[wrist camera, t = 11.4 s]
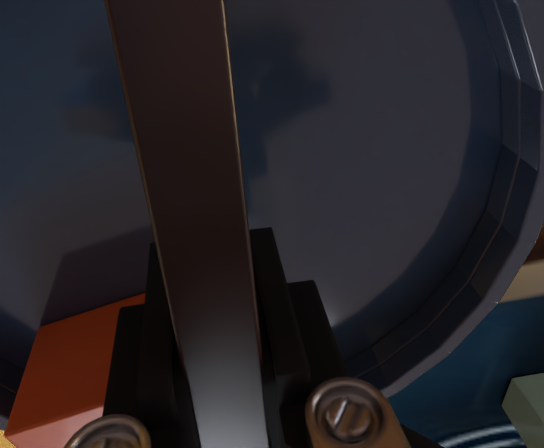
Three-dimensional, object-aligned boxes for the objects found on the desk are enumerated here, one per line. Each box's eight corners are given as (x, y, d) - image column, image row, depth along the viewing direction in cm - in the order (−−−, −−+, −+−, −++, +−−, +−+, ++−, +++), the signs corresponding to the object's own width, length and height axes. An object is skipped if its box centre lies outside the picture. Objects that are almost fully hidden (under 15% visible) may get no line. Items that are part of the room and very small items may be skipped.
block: (150, 289, 14) (194, 361, 16) (37, 326, 14) (95, 393, 16) (142, 391, 11) (197, 464, 13) (0, 437, 11) (77, 500, 13)
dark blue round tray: (453, 358, 19) (482, 407, 17) (-1, 434, 17) (-22, 497, 15) (606, -238, 9) (711, -271, 7) (-423, -199, 7) (-619, -230, 6)
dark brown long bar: (25, -477, 4) (-35, -639, 3) (167, -475, 4) (157, -631, 3) (247, 648, 13) (252, 706, 12) (290, 638, 13) (298, 695, 12)
